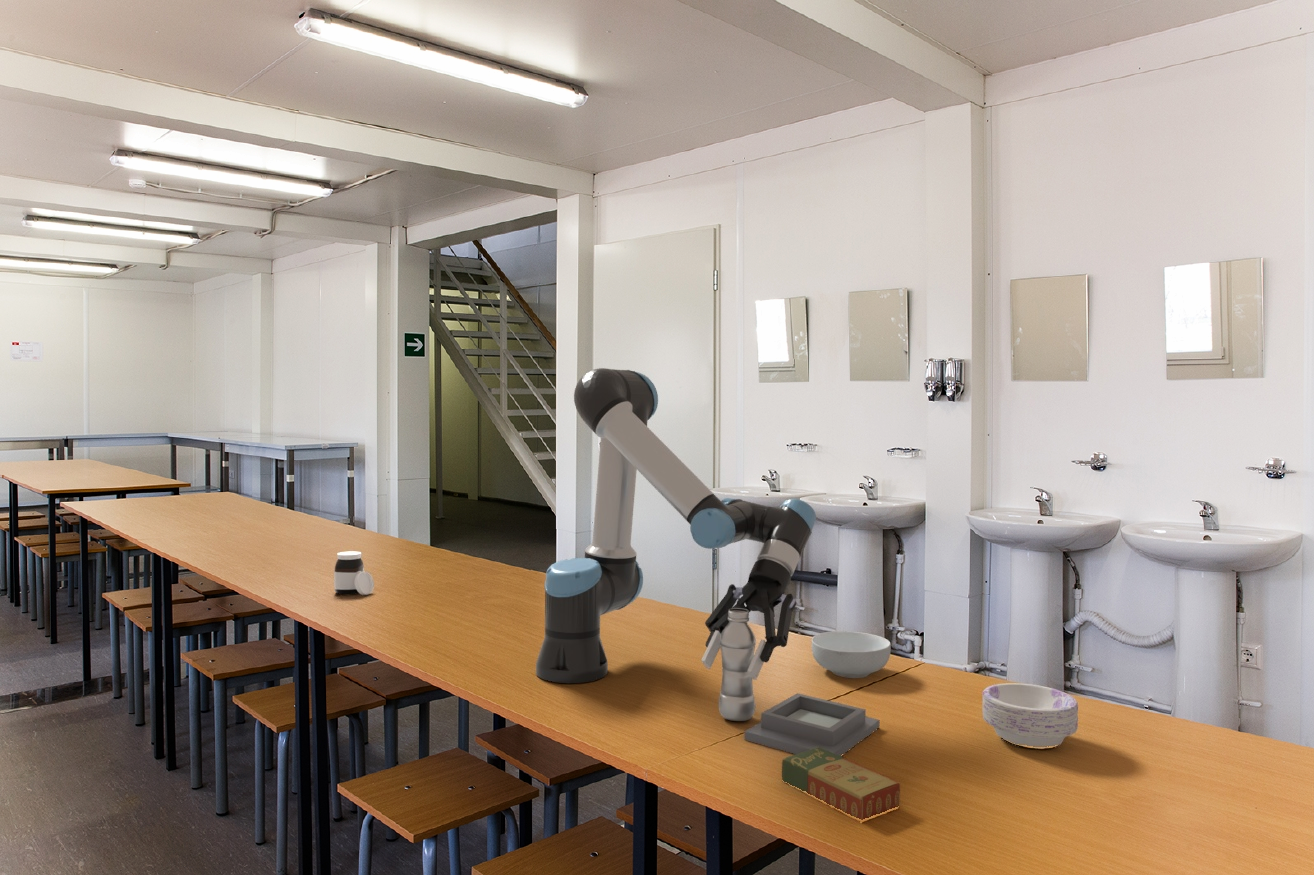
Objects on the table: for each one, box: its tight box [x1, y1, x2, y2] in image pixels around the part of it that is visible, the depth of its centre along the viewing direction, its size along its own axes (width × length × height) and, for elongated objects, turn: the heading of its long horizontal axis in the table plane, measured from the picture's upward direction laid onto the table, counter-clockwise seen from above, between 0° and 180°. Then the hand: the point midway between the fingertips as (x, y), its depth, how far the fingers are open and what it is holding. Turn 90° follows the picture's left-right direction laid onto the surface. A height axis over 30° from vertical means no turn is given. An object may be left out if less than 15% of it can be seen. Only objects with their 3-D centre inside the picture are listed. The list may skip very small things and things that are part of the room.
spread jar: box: [333, 550, 375, 596], centre depth 254 cm, size 12×11×12 cm
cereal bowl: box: [810, 630, 892, 679], centre depth 185 cm, size 17×17×7 cm
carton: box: [781, 747, 901, 820], centre depth 126 cm, size 8×16×4 cm, turn 35°
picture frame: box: [744, 692, 881, 757], centre depth 150 cm, size 20×16×4 cm
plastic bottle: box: [718, 608, 757, 722], centre depth 156 cm, size 6×7×20 cm
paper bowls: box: [982, 682, 1079, 747], centre depth 149 cm, size 15×15×8 cm
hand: (728, 670), depth 153 cm, fingers open, 9 cm apart
